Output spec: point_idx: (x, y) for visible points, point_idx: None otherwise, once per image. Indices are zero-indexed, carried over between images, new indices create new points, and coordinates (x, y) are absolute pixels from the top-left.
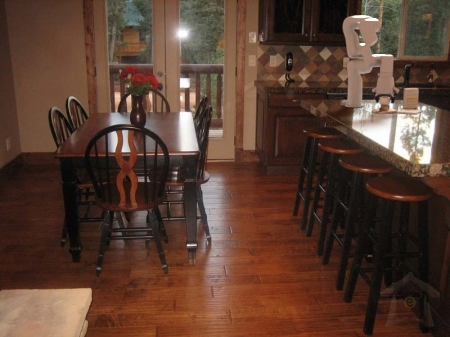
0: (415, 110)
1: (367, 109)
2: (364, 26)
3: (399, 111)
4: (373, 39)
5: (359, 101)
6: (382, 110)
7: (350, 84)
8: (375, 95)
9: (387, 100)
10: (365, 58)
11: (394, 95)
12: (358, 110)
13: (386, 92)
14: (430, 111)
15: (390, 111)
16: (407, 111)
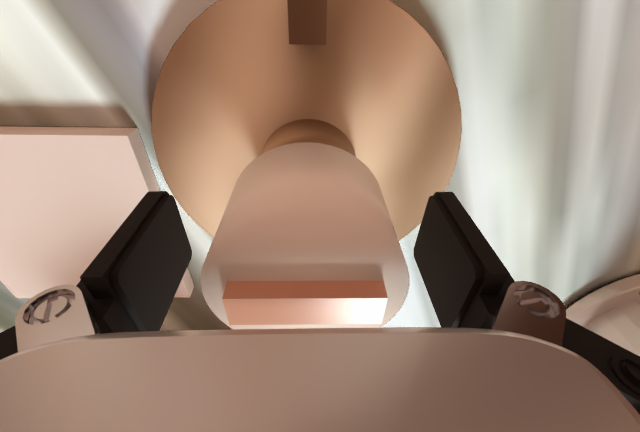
0: (42, 264)
1: (515, 234)
2: None
3: (104, 152)
4: None
5: (629, 348)
6: (314, 121)
7: None
8: (544, 303)
9: (223, 215)
10: None
11: (22, 334)
12: (627, 143)
13: (158, 379)
14: (3, 311)
15: (193, 106)
16: (38, 187)
